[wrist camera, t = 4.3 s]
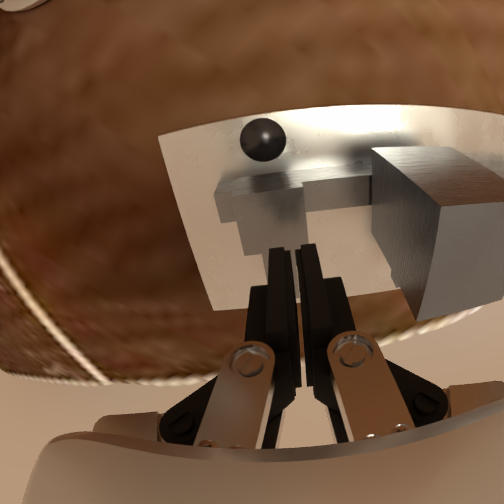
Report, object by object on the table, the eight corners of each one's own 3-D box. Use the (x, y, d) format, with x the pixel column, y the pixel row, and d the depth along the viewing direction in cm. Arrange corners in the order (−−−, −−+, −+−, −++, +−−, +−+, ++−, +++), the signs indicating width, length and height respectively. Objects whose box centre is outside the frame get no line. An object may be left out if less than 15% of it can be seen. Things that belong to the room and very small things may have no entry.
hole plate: (162, 133, 16) (157, 136, 15) (559, 127, 11) (565, 130, 11) (215, 303, 24) (213, 311, 23) (534, 254, 19) (539, 259, 18)
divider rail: (216, 171, 17) (200, 201, 13) (566, 160, 12) (596, 180, 8) (241, 272, 21) (235, 319, 17) (552, 229, 16) (576, 254, 12)
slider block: (359, 139, 15) (440, 206, 7) (432, 138, 14) (533, 200, 6) (360, 261, 19) (399, 368, 12) (422, 252, 19) (477, 346, 11)
